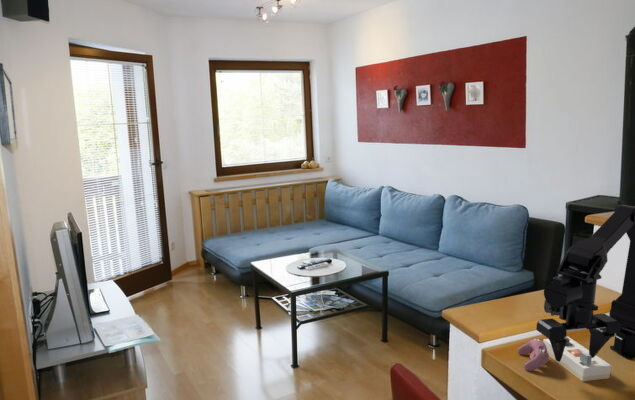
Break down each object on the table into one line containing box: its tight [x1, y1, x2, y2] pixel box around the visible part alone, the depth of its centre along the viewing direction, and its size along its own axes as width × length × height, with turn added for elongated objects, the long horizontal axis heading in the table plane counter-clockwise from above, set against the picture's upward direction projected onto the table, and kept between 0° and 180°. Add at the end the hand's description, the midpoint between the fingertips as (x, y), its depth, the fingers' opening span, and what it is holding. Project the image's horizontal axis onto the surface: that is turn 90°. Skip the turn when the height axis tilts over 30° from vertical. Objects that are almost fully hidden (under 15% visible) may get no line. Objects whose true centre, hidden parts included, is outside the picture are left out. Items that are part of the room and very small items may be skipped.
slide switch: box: [580, 352, 592, 366], centre depth 124 cm, size 1×2×4 cm, turn 11°
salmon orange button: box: [571, 350, 582, 357], centre depth 129 cm, size 3×3×2 cm
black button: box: [564, 336, 570, 346], centre depth 134 cm, size 3×3×2 cm
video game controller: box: [517, 338, 550, 371], centre depth 130 cm, size 10×5×7 cm, turn 169°
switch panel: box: [542, 336, 612, 382], centre depth 130 cm, size 8×16×3 cm, turn 11°
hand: (574, 359), depth 123 cm, fingers open, 9 cm apart
